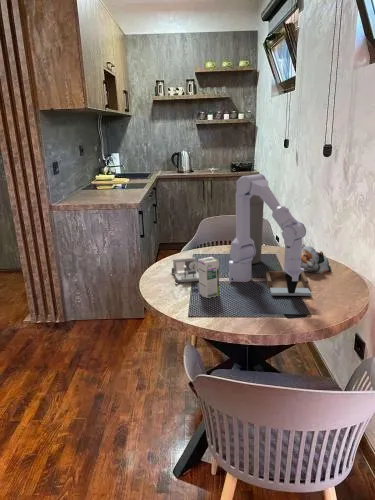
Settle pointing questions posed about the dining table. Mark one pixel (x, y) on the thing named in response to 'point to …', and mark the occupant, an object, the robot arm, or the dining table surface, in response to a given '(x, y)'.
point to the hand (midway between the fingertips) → (291, 292)
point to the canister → (256, 225)
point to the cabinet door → (285, 292)
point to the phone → (295, 315)
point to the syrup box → (209, 277)
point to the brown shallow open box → (283, 280)
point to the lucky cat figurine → (314, 261)
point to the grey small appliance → (185, 269)
